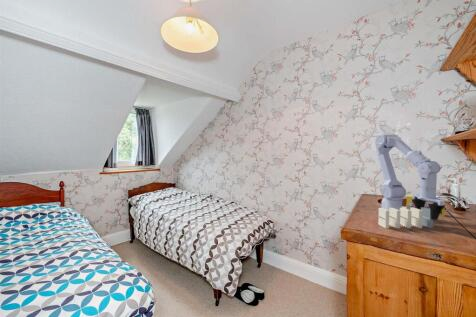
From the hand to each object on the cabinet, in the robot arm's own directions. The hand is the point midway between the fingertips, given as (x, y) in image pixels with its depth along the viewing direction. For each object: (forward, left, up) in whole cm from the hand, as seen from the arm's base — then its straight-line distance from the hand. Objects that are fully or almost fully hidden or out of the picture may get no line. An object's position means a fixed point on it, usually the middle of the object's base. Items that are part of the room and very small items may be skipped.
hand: (427, 216), depth 100 cm
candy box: (-20, +16, -5) cm, 26 cm away
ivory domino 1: (0, -20, -4) cm, 20 cm away
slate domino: (0, 0, -4) cm, 4 cm away
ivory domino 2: (0, -15, -4) cm, 16 cm away
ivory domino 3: (0, -10, -4) cm, 11 cm away
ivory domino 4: (0, -5, -4) cm, 7 cm away
